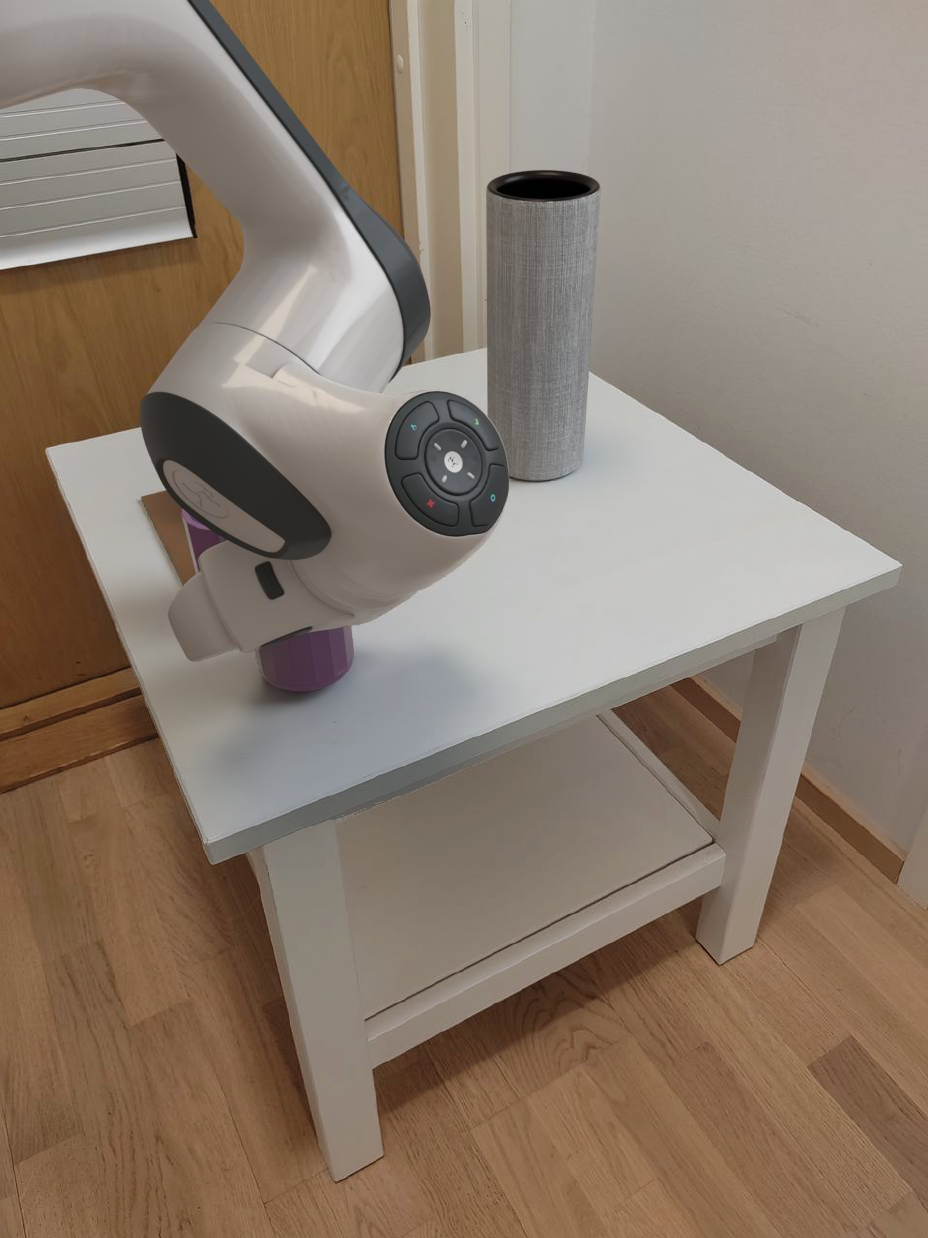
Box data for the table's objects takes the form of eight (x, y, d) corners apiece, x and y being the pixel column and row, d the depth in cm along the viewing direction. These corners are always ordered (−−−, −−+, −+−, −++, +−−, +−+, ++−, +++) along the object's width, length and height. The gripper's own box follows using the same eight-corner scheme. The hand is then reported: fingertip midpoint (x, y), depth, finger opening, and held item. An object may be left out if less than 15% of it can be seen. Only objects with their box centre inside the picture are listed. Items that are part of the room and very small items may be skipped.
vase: (547, 427, 105) (557, 163, 89) (602, 465, 99) (624, 187, 82) (470, 451, 102) (465, 180, 85) (521, 492, 95) (527, 207, 78)
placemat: (189, 595, 83) (188, 592, 82) (141, 499, 95) (140, 496, 95) (398, 532, 90) (398, 529, 89) (328, 451, 102) (328, 447, 102)
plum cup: (242, 682, 72) (219, 574, 66) (282, 622, 77) (264, 518, 71) (333, 699, 70) (319, 590, 64) (368, 636, 76) (357, 531, 70)
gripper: (464, 453, 63) (393, 515, 76) (173, 561, 54) (146, 612, 66) (505, 539, 63) (427, 587, 75) (221, 662, 54) (184, 694, 66)
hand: (293, 599), depth 71 cm, fingers closed on plum cup, 7 cm apart
